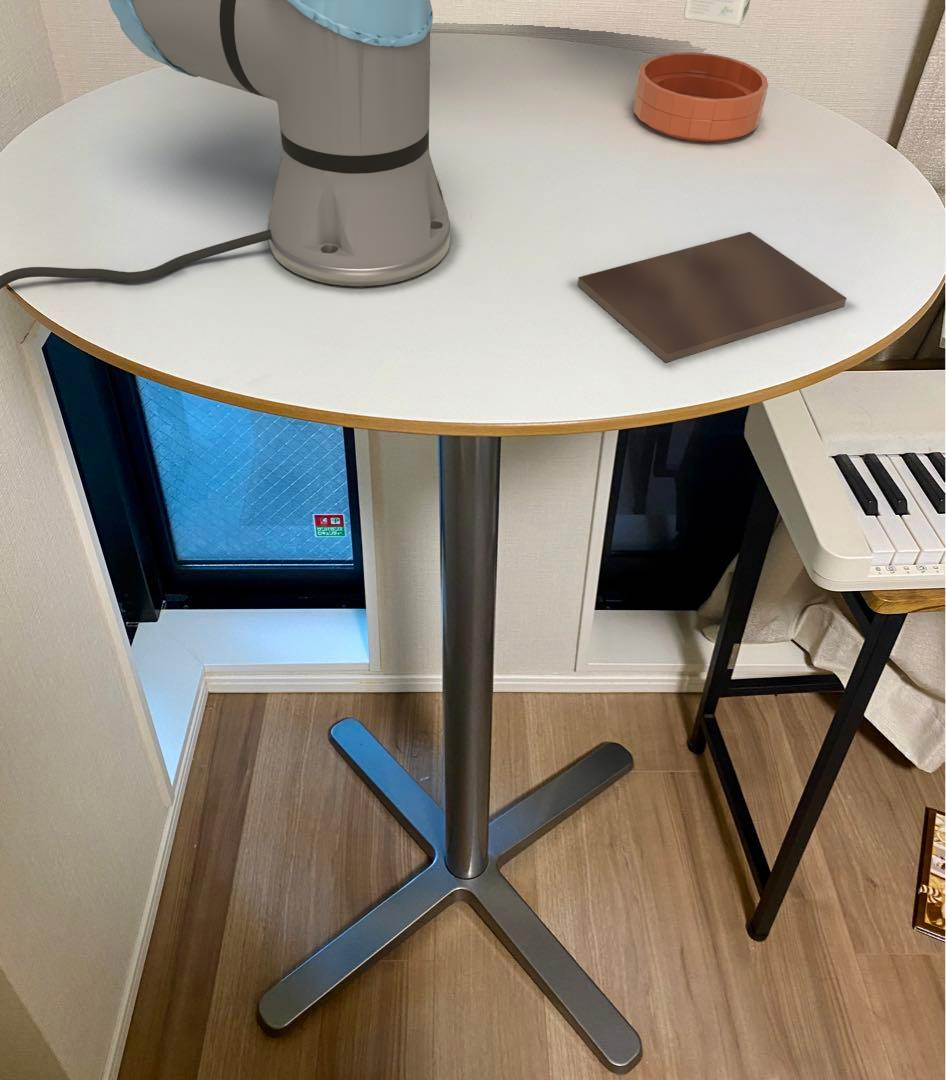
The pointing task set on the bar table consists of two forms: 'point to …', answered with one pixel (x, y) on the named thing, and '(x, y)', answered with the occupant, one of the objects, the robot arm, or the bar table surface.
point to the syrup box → (717, 11)
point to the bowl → (699, 96)
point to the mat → (709, 295)
